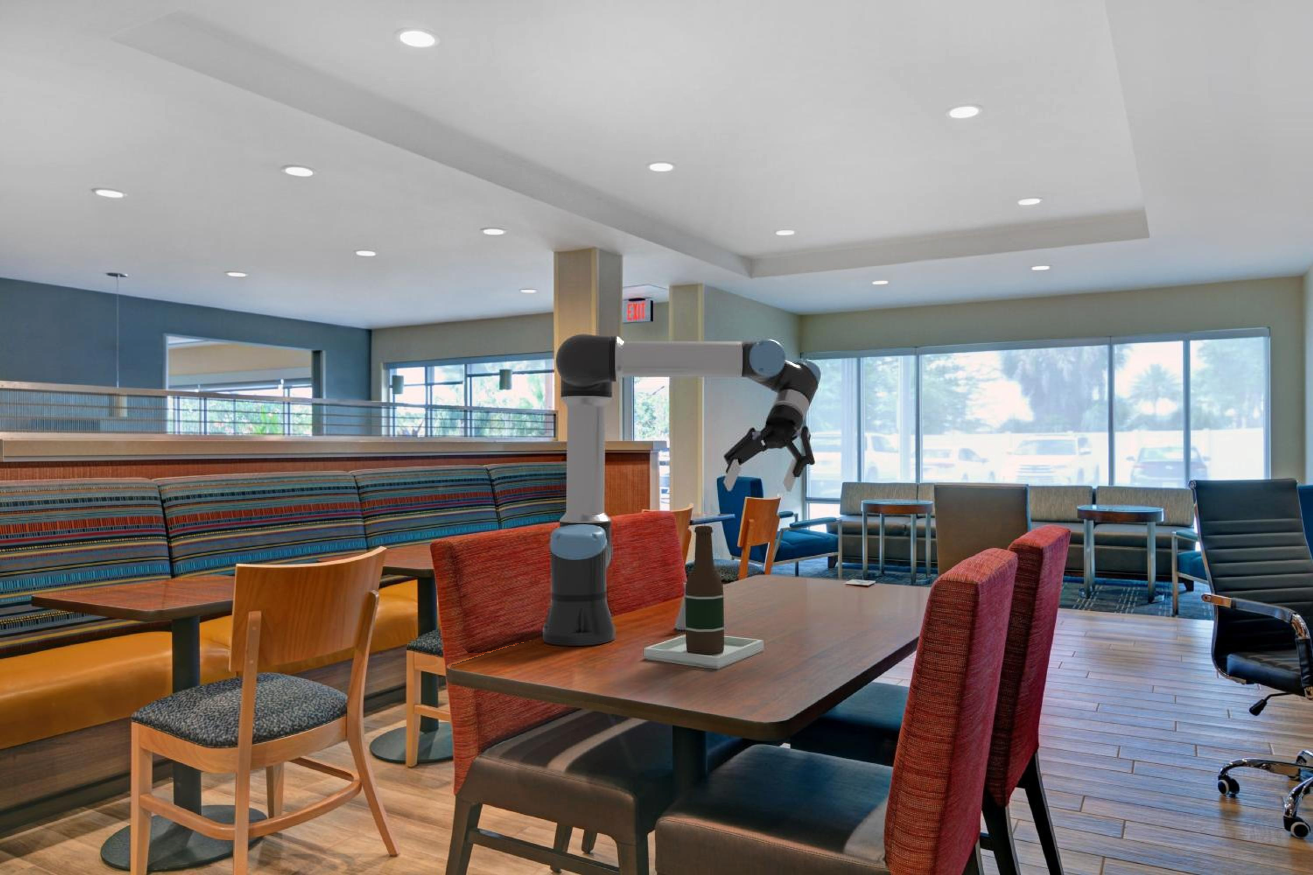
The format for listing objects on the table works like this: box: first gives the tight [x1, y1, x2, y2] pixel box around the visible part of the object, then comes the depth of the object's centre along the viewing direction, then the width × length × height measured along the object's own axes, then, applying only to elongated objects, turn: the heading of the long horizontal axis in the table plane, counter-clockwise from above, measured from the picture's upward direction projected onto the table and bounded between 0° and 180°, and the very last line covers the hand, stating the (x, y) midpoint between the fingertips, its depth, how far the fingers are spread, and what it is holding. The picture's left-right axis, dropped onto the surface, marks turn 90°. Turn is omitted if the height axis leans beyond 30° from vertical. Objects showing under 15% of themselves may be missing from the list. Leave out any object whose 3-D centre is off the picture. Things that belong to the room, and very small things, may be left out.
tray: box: [643, 634, 765, 670], centre depth 172 cm, size 16×18×2 cm
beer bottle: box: [684, 525, 725, 655], centre depth 172 cm, size 8×8×24 cm
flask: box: [674, 582, 686, 631], centre depth 198 cm, size 7×7×10 cm
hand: (756, 486), depth 182 cm, fingers open, 13 cm apart
